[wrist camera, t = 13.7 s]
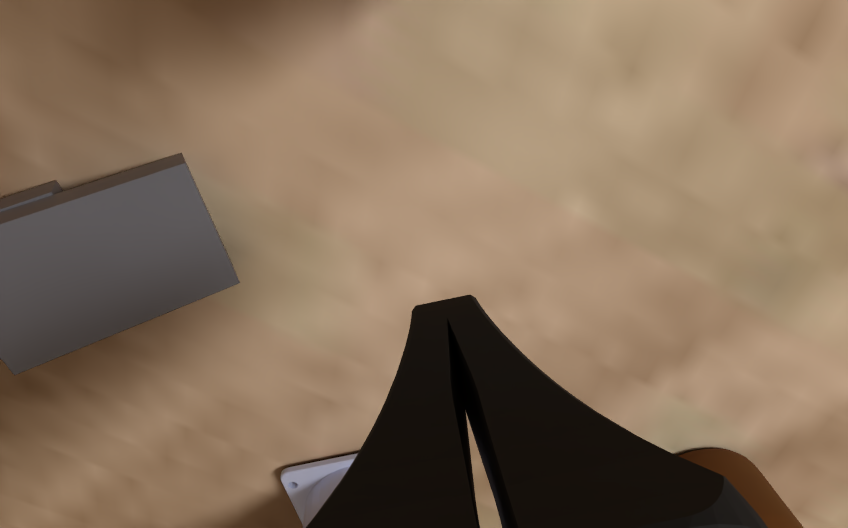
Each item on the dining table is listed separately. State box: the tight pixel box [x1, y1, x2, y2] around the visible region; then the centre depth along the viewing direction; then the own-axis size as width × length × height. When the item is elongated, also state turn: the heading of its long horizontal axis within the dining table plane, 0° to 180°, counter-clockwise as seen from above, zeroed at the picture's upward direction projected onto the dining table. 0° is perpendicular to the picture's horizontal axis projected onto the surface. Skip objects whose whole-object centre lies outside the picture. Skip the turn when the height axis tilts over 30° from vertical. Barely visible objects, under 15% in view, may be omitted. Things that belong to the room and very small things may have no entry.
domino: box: [0, 153, 240, 375], centre depth 19 cm, size 5×2×8 cm
